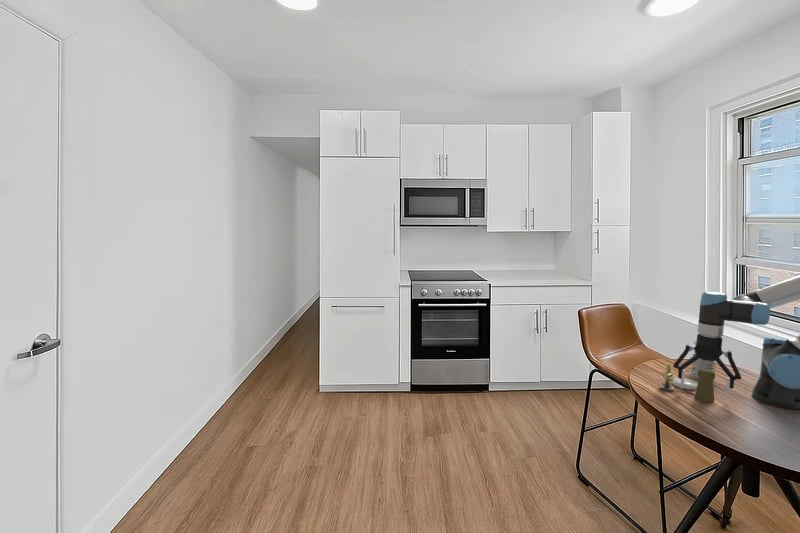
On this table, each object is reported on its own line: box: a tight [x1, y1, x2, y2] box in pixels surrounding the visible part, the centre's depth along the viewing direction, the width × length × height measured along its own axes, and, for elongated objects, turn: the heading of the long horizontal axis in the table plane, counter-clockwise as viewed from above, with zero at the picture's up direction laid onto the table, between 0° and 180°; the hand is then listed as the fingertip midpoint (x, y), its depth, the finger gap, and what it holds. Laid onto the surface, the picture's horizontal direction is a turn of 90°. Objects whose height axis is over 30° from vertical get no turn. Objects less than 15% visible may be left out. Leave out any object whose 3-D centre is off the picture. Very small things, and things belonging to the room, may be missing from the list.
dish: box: [671, 377, 698, 391], centre depth 176 cm, size 10×10×1 cm
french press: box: [688, 340, 717, 380], centre depth 187 cm, size 10×12×25 cm
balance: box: [659, 363, 675, 393], centre depth 172 cm, size 4×12×11 cm, turn 145°
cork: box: [694, 369, 716, 403], centre depth 163 cm, size 6×6×11 cm
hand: (703, 391), depth 163 cm, fingers open, 13 cm apart
